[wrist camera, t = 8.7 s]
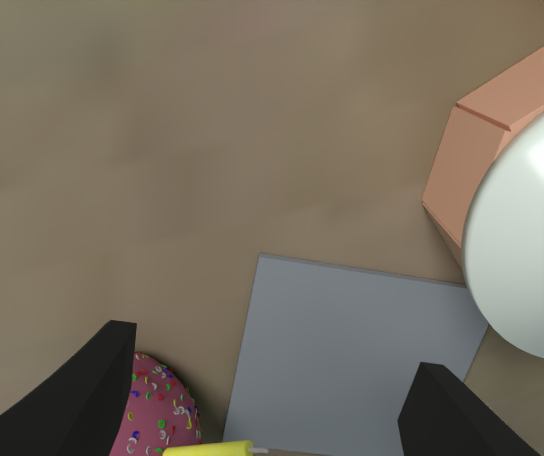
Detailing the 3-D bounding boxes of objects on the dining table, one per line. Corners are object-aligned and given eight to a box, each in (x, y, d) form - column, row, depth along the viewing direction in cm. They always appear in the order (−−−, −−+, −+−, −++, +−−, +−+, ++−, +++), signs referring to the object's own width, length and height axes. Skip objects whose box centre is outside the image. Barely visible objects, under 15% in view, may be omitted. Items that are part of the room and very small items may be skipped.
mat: (498, 289, 23) (502, 294, 23) (422, 460, 28) (424, 466, 28) (259, 253, 22) (259, 256, 22) (222, 437, 27) (221, 443, 27)
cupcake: (167, 467, 28) (332, 421, 22) (52, 616, 21) (251, 610, 14) (84, 347, 27) (230, 264, 21) (-65, 456, 20) (91, 378, 14)
